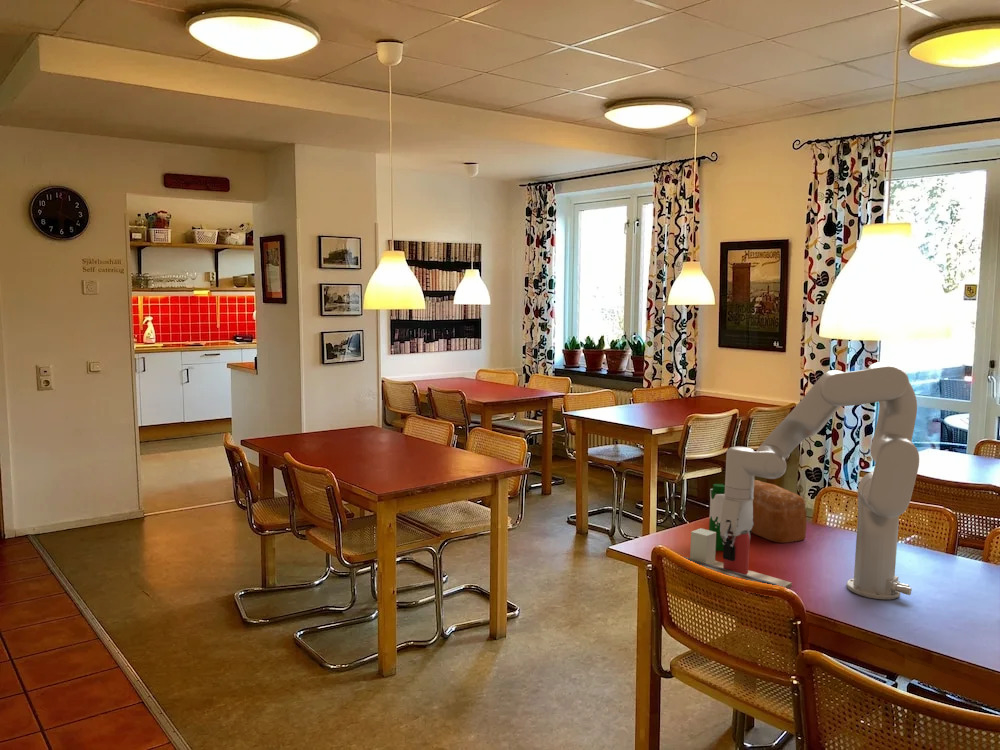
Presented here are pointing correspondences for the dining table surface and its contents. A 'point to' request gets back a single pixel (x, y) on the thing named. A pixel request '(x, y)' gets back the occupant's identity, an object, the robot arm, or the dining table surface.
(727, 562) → the beer can
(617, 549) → the dining table surface
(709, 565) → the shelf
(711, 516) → the milk carton
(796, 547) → the dining table surface
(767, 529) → the bread
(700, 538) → the carton
